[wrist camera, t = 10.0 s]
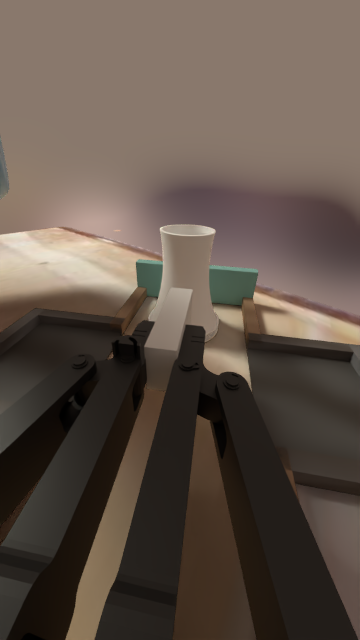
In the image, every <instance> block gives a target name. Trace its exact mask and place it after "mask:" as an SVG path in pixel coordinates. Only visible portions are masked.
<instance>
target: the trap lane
mask: <svg viewBox="0 0 360 640" xmlns="http://www.w3.org/2000/svg"><path fill="white" fill-rule="evenodd" d="M146 297H147V288H144V287H137V288H136V290H135V291H134V292H133V294H132V295H131V296H130V298H129V299H128V300H127V301H126V303H125V304H124V305H123V307H122V308H121V309H120V311H119V312H118V313H117V314H116V316H115V317H108V316H99V315H91V314H82V313H73V312H65V311H56V310H47V309H38V308H35V309H33V310H32V311H30V312H29V313H28V314H26V315H25V316H23V317H22V318H21V319H19V320H18V321H16V322H15V323H13V324H12V325H11V326H9V327H8V328H6V329H5V330H4V331H2V332H1V333H0V414H2V413H3V412H4V411H5V410H7V409H8V408H9V407H10V406H12V405H13V404H14V403H15V402H16V401H18V400H19V399H20V398H21V397H23V396H24V395H25V394H26V393H27V392H29V391H30V390H31V389H32V388H34V387H35V386H36V385H37V384H39V383H40V382H41V381H42V380H43V379H45V378H46V377H47V376H48V375H50V374H51V373H52V372H53V371H55V370H56V369H57V368H58V367H59V366H61V365H62V364H63V363H64V362H66V361H67V360H68V359H70V358H71V357H73V356H75V355H78V354H90V355H92V356H93V357H94V359H95V361H102V360H107V358H108V356H109V355H110V353H111V352H112V350H113V349H112V343H111V342H112V341H113V340H114V339H116V338H118V337H120V336H122V334H123V333H124V331H125V330H126V328H127V327H128V325H129V323H130V322H131V320H132V319H133V317H134V316H135V314H136V312H137V311H138V309H139V308H140V306H141V305H142V303H143V301H144V300H145V298H146ZM241 307H242V315H243V323H244V331H245V339H246V346H247V354H248V362H249V370H250V378H251V386H252V394H253V397H254V399H255V401H256V404H257V406H258V408H259V411H260V413H261V415H262V418H263V420H264V422H265V425H266V427H267V429H268V431H269V434H270V436H271V438H272V441H273V443H274V445H275V448H276V450H277V452H278V455H279V457H280V459H281V462H282V464H283V466H284V469H285V471H286V473H287V476H288V478H289V480H290V483H291V485H292V487H293V489H294V492H295V494H296V496H297V499H298V495H297V490H296V486H295V484H301V485H306V486H312V487H317V488H322V489H328V490H333V491H339V492H344V493H349V494H355V495H360V345H353V344H344V343H335V342H326V341H318V340H309V339H300V338H291V337H283V336H274V335H265V334H261V332H260V328H259V323H258V319H257V314H256V310H255V306H254V301H253V298H247V297H243V299H242V304H241ZM298 501H299V499H298ZM1 525H2V524H1ZM1 525H0V526H1Z"/></svg>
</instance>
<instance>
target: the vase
mask: <svg viewBox="0 0 360 640" xmlns="http://www.w3.org/2000/svg"><path fill="white" fill-rule="evenodd" d="M215 232H216V231H215V230H214V229H212V228H210V227H206V226H199V225H187V224H186V225H185V224H182V225H181V224H178V225H168V226H164V227H161V228H160V233H161V239H162V249H163V273H162V282H161V288H160V292H159V296H158V300H157V303H156V306H155V308H154V309H153V310H152V311H151V312H150V314H149V318H148V319H149V321H154V322H156V319H157V317H158V315H159V313H160V311H161V308H162V306H163V304H164V302H165V300H166V297H167V295H168V293H169V291H170V289H171V287H172V288H183V289H193V294H192V309H191V324H190V325H196V326H203V328H204V329H205V331H206V334H205V342H207V341H209V340H210V339H212V338H213V337H214V336H215V335H216V333H217V331H218V324H219V318H218V316H217V314H216V313H215V312H214V310H213V306H212V302H211V296H210V288H209V265H210V256H211V250H212V245H213V239H214V235H215Z"/></svg>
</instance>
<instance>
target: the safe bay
mask: <svg viewBox="0 0 360 640" xmlns="http://www.w3.org/2000/svg"><path fill="white" fill-rule="evenodd" d="M136 270H137V284H138V287H144V288H147V296H152V297H158V296H159V292H160V288H161V282H162V273H163V261H152V260H140V259H139V260H138V261H137V262H136ZM257 276H258V270H257V269H249V268H236V267H224V266H212V265H209V288H210V296H211V302H212V303H221V304H231V305H241V304H242V299H243V297H247V298H253V295H254V290H255V286H256V281H257Z"/></svg>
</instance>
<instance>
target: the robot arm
mask: <svg viewBox="0 0 360 640" xmlns="http://www.w3.org/2000/svg"><path fill="white" fill-rule="evenodd" d="M8 190H9V181H8V174H7V168H6V163H5V158H4V152H3V147H2V142H1V137H0V199H2V198H3V197H5V195H6V194H7V193H8ZM192 294H193V289H183V288H172V287H171V289H170V291H169V293H168V295H167V297H166V300H165V302H164V304H163V306H162V308H161V311H160V313H159V315H158V317H157V319H156V322H154V321H145V320H144V321H142V322H141V323H139V324H138V325H137V327H136V329H135V331H134V332H133V334H132V336H130V335H125V336H120V337H118V338H116V339H114V340H113V341H112V342H111V343H112V349H113V358H112V359H109V360H102V361H95V359H94V357H93V356H92V355H90V354H78V355H75V356H73V357H71V358H70V359H68V360H67V361H66V362H64V363H63V364H62V365H61V366H59V367H58V368H57V369H56V370H55V371H53V372H52V373H51V374H50V375H48V376H47V377H46V378H45V379H43V380H42V381H41V382H40V383H39V384H37V385H36V386H35V387H34V388H32V389H31V390H30V391H29V392H27V393H26V394H25V395H24V396H23V397H21V398H20V399H19V400H18V401H16V402H15V403H14V404H13V405H12V406H10V407H9V408H8V409H7V410H5V411H4V412H3V413H2V414H0V525H1V524H2V523H3V522H4V521H5V520H6V518H7V517H8V516H9V515H10V514H11V512H12V511H13V510H14V509H15V508H16V506H17V505H18V504H19V503H20V502H21V500H22V499H23V498H24V497H25V496H26V494H27V493H28V492H29V491H30V490H31V488H32V487H33V486H34V485H35V484H36V483H37V481H38V480H39V479H40V478H41V477H42V478H41V479H40V481H39V483H38V484H37V486H36V488H35V490H34V491H33V493H32V495H31V496H30V498H29V500H28V501H27V503H26V505H25V506H24V508H23V510H22V511H21V513H20V515H19V516H18V518H17V520H16V522H15V523H14V525H13V527H12V528H11V530H10V532H9V533H8V535H7V537H6V538H5V540H4V541H3V543H2V544H1V546H0V640H65V639H66V636H67V633H68V630H69V627H70V623H71V620H72V617H73V613H74V608H75V602H76V594H77V589H78V585H79V582H80V579H81V576H82V573H83V570H84V567H85V565H86V562H87V559H88V556H89V553H90V550H91V547H92V544H93V542H94V539H95V536H96V533H97V530H98V527H99V524H100V522H101V519H102V516H103V513H104V510H105V507H106V504H107V501H108V499H109V496H110V493H111V490H112V487H113V484H114V481H115V479H116V476H117V473H118V470H119V467H120V464H121V461H122V458H123V456H124V453H125V450H126V447H127V444H128V441H129V438H130V435H131V433H132V430H133V427H134V424H135V421H136V418H137V415H138V413H139V410H140V407H141V404H142V401H143V398H144V387H145V384H146V385H147V389H152V390H159V391H166V393H165V397H164V401H163V404H162V408H161V412H160V416H159V420H158V423H157V427H156V431H155V435H154V439H153V442H152V446H151V450H150V454H149V458H148V461H147V465H146V469H145V473H144V477H143V480H142V484H141V488H140V492H139V496H138V499H137V503H136V507H135V511H134V514H133V518H132V522H131V526H130V530H129V533H128V537H127V541H126V545H125V549H124V552H123V556H122V560H121V564H120V567H119V571H118V574H117V577H116V579H115V581H114V583H113V585H112V587H111V589H110V591H109V594H108V597H107V600H106V602H105V605H104V609H103V612H102V615H101V619H100V622H99V626H98V630H97V633H96V637H95V640H172V637H173V628H174V619H175V610H176V601H177V592H178V583H179V574H180V564H181V555H182V546H183V537H184V528H185V519H186V510H187V500H188V491H189V482H190V473H191V464H192V455H193V446H194V437H195V427H196V418H197V415H199V416H201V417H203V418H205V419H207V420H210V424H211V428H212V433H213V438H214V442H215V447H216V452H217V456H218V461H219V466H220V470H221V475H222V480H223V484H224V489H225V494H226V498H227V503H228V508H229V512H230V517H231V522H232V526H233V531H234V536H235V540H236V545H237V550H238V554H239V559H240V564H241V568H242V573H243V578H244V582H245V587H246V592H247V596H248V601H249V606H250V610H251V615H252V620H253V624H254V629H255V634H256V638H257V640H358V638H357V636H356V633H355V631H354V629H353V626H352V624H351V622H350V619H349V617H348V615H347V612H346V610H345V608H344V605H343V603H342V601H341V598H340V596H339V594H338V592H337V589H336V587H335V585H334V582H333V580H332V578H331V575H330V573H329V571H328V568H327V566H326V564H325V561H324V559H323V557H322V554H321V552H320V550H319V547H318V545H317V543H316V541H315V538H314V536H313V534H312V531H311V529H310V527H309V524H308V522H307V520H306V517H305V515H304V513H303V510H302V508H301V506H300V503H299V501H298V499H297V496H296V494H295V492H294V489H293V487H292V485H291V483H290V480H289V478H288V476H287V473H286V471H285V469H284V466H283V464H282V462H281V459H280V457H279V455H278V452H277V450H276V448H275V445H274V443H273V441H272V438H271V436H270V434H269V431H268V429H267V427H266V425H265V422H264V420H263V418H262V415H261V413H260V411H259V408H258V406H257V404H256V401H255V399H254V397H253V394H252V392H251V390H250V387H249V385H248V383H247V381H246V380H245V378H244V377H242V376H241V375H240V374H237V373H234V372H224V373H221V374H220V375H219V376H218V375H216V374H213V373H211V372H210V371H208V370H207V369H206V368H205V367H204V365H203V353H204V344H205V334H206V331H205V329H204V328H203V326H196V325H190V324H191V309H192ZM42 475H43V476H42Z"/></svg>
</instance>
